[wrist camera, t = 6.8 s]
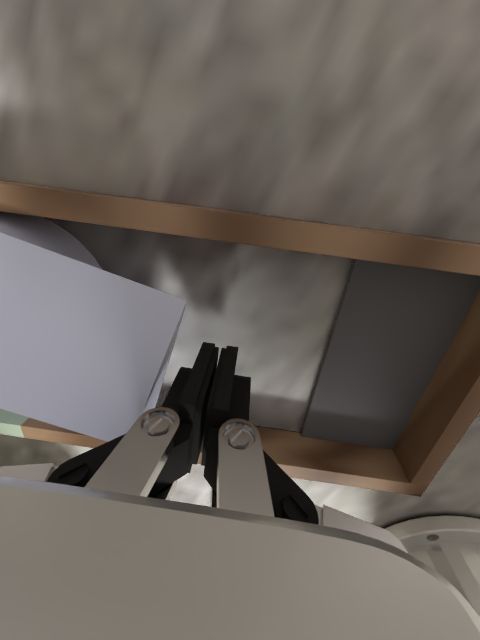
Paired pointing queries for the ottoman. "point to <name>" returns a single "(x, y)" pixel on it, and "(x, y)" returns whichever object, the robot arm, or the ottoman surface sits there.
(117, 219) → the channel box
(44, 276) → the wedge on round base
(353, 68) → the ottoman surface
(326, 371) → the strip
